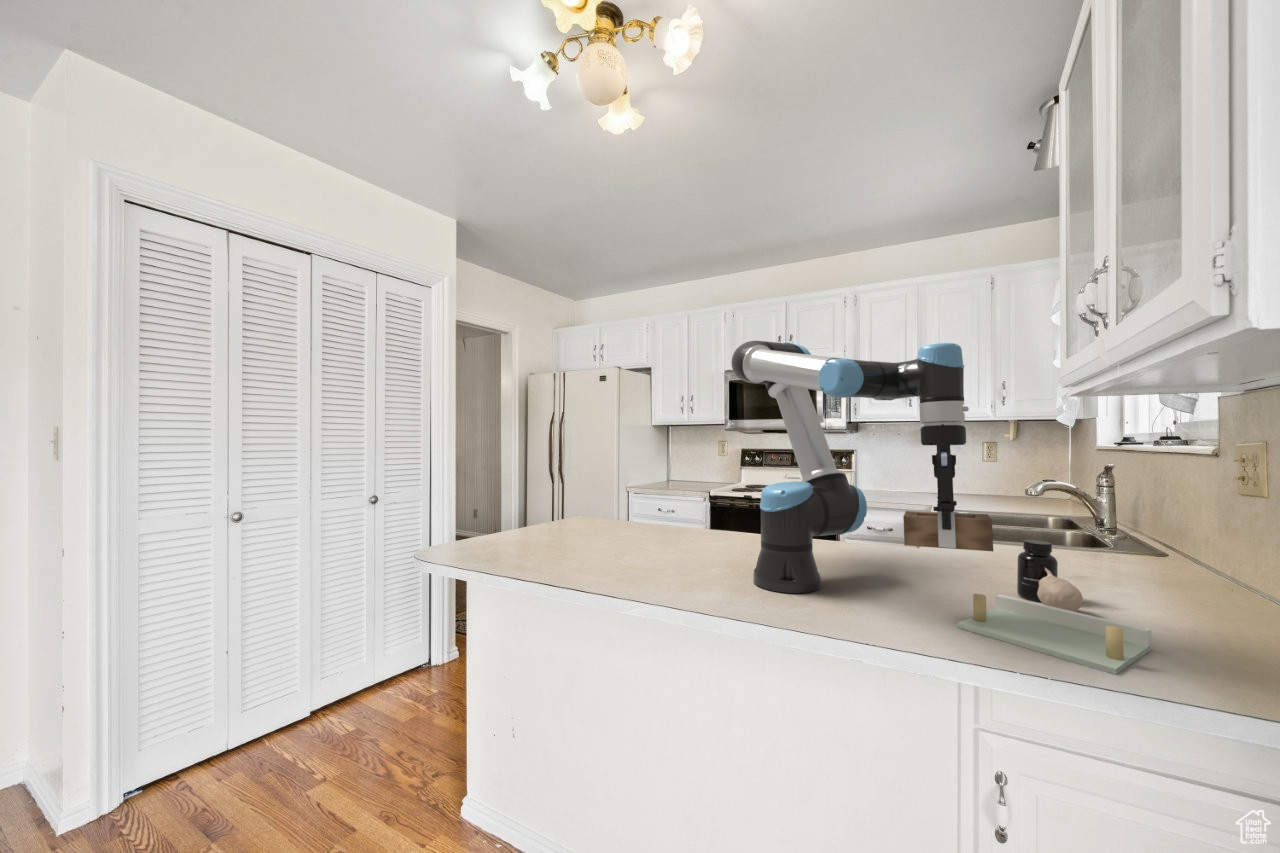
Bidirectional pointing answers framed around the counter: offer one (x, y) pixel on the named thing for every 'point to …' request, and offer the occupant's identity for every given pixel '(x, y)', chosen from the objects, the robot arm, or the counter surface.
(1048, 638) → the wall board
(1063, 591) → the garlic bulb
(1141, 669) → the counter surface
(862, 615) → the counter surface
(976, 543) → the wooden box
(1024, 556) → the supplement bottle
